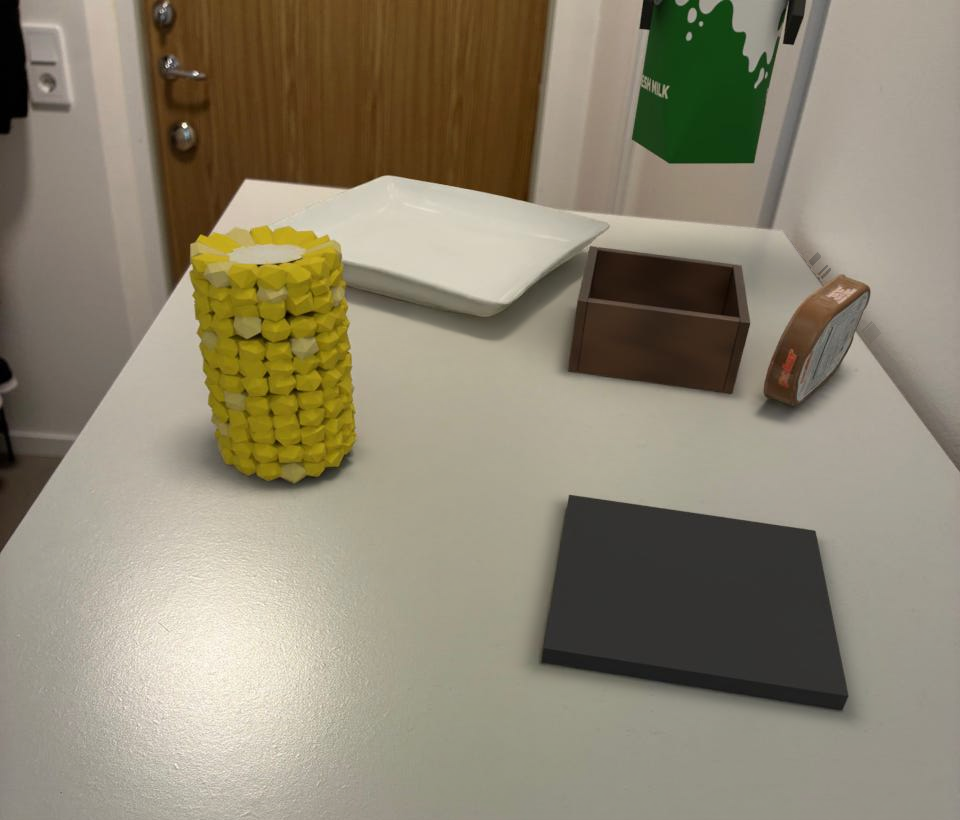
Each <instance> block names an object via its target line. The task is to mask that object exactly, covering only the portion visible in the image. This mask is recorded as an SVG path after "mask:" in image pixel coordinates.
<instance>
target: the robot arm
mask: <svg viewBox="0 0 960 820" xmlns="http://www.w3.org/2000/svg"><path fill="white" fill-rule="evenodd" d="M654 1H655V0H642V7H641V12H640V14H641V15H640V20H639V28H638V29H639V30H646V31H649V30H650V26H651V20H652V13H653V7H654ZM806 6H807V0H789V2H788V6H787V10H786V16H785V18H786V19H785V25H784V32H783V37H782V38H783V40H782V45H789V46H794V45H795V42H796V39H797V37H798V35H799V31H800V28H801V26H802V23H803V21H804V17H805V13H806V12H805V11H806Z"/></svg>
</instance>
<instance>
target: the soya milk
mask: <svg viewBox="0 0 960 820" xmlns="http://www.w3.org/2000/svg"><path fill="white" fill-rule="evenodd" d="M788 3H789V0H655V1H654V7H653V13H652V20H651V26H650V30H648V34H647V35H648V36H647V42H646V49H645V55H644V61H643V69H642V74H641V80H640V85H639V91H638V98H637V104H636V109H635V117H634V122H633V127H632V135H631V140H632V141H633V142H635V143H636V144H638V145H640V146H641V147H642V148H644V149H646V150H647V151H649V152H651V153H652V154H654V156H657V157H658V158H660V159H661V160H662V161H664V162H666V163H668V164H669V165H672V164H673V165H674V164H675V165H679V164H680V165H682V164H683V165H687V164H689V165H691V164H693V165H694V164H697V165H698V164H700V165H701V164H703V165H704V164H705V165H706V164H707V165H708V164H709V165H710V164H713V165H714V164H715V165H716V164H718V165H720V164H721V165H722V164H726V165H727V164H755V161H756V155H757V150H758V146H759V141H760V135H761V130H762V125H763V120H764V114H765V111H766V110H765V109H766V105H767V100H768V96H769V95H768V94H769V90H770V86H771V80H772V77H773V71H774V66H775V62H776V58H777V54H778V50H779V46H780V40H781V36H782V31H783V27H784V23H785V20H786V19H785V18H786V16H787V10H788Z"/></svg>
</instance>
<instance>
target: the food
mask: <svg viewBox="0 0 960 820" xmlns="http://www.w3.org/2000/svg"><path fill="white" fill-rule="evenodd" d="M268 226H269V225H266V224H265V225H262V226H257V227H253V228H250V231H249V230H247V229H245V228H240V227H237V226H234V227H233V228H232V229H231V230H229V231H228V232H227V233H226V234H222V233H218V232H212V233H211V234H210V235H209V236H206V235H203V234H199V236H198V237H197V239H196V240H195V241H194V242H192V243H190V245H189V246H190V247H189V264H191V265H192V270H190V271H189V272H188V274H189V278H190V283H191V284H192V287H193V289H194V291H193V293H191V294H192V295H191V296H192V298H193V299H194V300H193V301H194V302H193V303H194V304H193V306H194V316H195V318H194V319H195V320H196V321H198V323H199V325H198V328H197V330H196V335H198V337H199V339H200V342H199V345H198V347H199V351H200V353H201V356H202V359H203V360H202V372H203V373H204V375H205V376H206V377H205V380H204V385H205V386H206V388H207V389H208V391H209V393H208V398H207V399H208V400H207V405H208V406H209V407H210V408H211V412H212V415H211V419H210V422H211V423H212V424H214V426H215V427H216V428H215V430H214V432H213V433H214V436H215V439H216V441H217V450H218V451H219V452H220V455H221V457H222V458H223V461H224V462H225V464H226V465H227V466H233V467H235V469H236V470H237V471H238V472H239V473H242V474H243V475H246V476H251V475H253V474H255V473H256V476H257V477H259V478H261V479H263V480H265V481H267V482H270V481H273V480H276V479H278V478H281V479H282V480H285V481H287V482H289V483H291V484H293V485H295V484H297V483H298V482H299V481H301V480H302V479H304V478H305V477H306V476H309V477H316V478H319V477H320V476H321V475H322V474H323V472H324V471H325V469H326V468H334V467H340V465H341V462H342V460H343V458H344V456H345V455H348V453H349V452H351V450H352V449H353V447H354V445H355V443H356V441H357V439H356V437H357V433H356V431H355V430H356V429H357V427H356V419H355V414H356V408H355V404H354V397H353V394H354V391H355V389H356V388H355V386H354V384H353V378H352V374H351V372H352V370H353V362H352V361H353V359H352V358H353V357H352V356H353V355H352V353H351V352H350V350H351V349H352V347H351V342H350V338H349V334H348V330H349V328H350V325H351V322H350V319H349V318H348V317H347V312H348V310H349V305H348V302H347V300H346V297H345V292H346V288H347V286H346V284H347V283H346V282H344V281H343V267H344V265H343V264H342V262H341V260H342V252H341V245H340V244H339V243H338V242H336V241H335V240H334V239H333V240H330V238H329V236H328V234H327V235H325V236H323V237H320V238H318V237H317V236H316V235H315V233H314V232H313V231H298V232H297V231H296V230H294V229H293V228H291V227H290V226H286V227H282V228H278V229H274V232H272V230H271V229H270V228H269V227H268Z"/></svg>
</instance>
